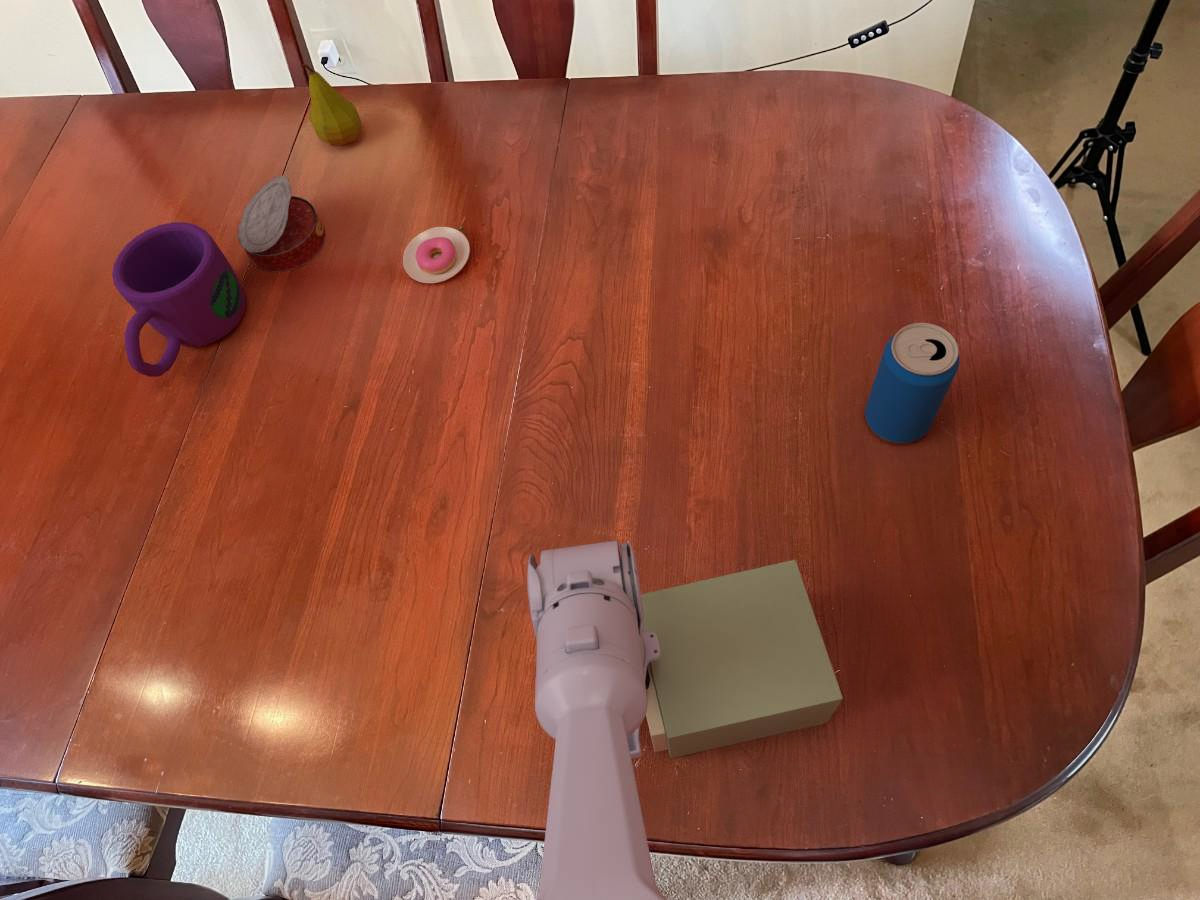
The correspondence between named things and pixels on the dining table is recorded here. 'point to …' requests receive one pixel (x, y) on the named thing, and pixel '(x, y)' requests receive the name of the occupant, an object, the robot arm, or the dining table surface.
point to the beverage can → (911, 382)
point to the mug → (176, 291)
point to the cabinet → (739, 659)
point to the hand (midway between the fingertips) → (615, 685)
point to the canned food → (280, 228)
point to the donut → (436, 254)
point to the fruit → (331, 112)
